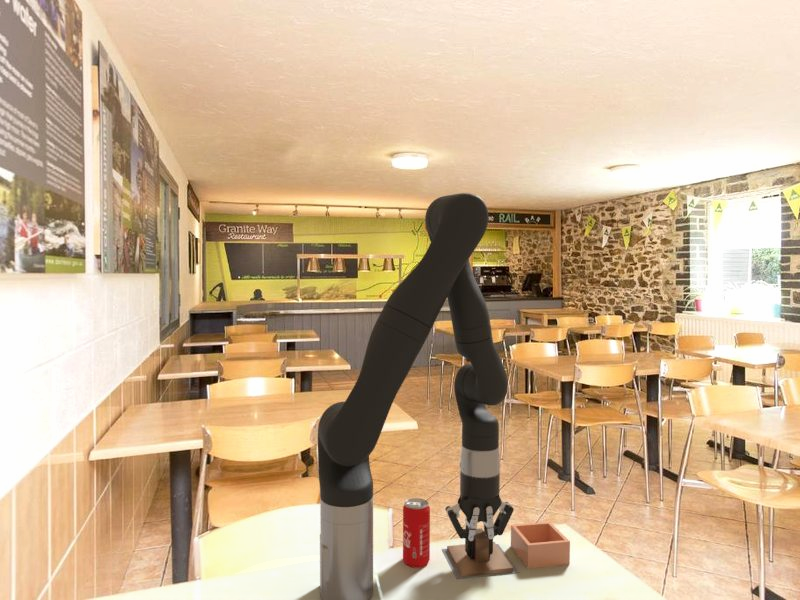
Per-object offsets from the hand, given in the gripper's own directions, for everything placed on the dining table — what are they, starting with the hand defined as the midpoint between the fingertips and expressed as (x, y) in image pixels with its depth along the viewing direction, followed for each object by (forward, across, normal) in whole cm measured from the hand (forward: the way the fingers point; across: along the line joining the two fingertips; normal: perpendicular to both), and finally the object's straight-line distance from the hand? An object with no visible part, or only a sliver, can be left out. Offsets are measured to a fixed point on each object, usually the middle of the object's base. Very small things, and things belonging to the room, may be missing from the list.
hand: (479, 555), depth 106 cm
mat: (+1, 0, 0) cm, 1 cm away
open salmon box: (+1, +12, 0) cm, 13 cm away
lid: (+1, 0, 0) cm, 1 cm away
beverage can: (+2, -12, +2) cm, 12 cm away
